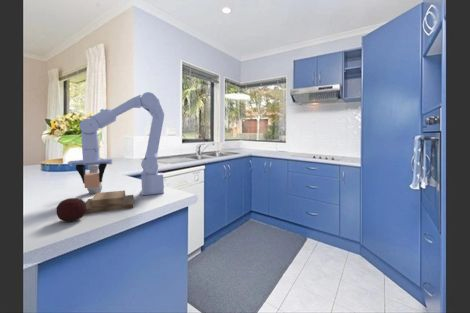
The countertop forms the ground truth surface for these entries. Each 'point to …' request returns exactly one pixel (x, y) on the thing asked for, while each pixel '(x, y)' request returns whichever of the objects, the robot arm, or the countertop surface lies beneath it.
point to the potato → (71, 209)
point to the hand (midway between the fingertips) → (93, 182)
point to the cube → (91, 180)
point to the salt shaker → (94, 170)
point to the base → (108, 208)
